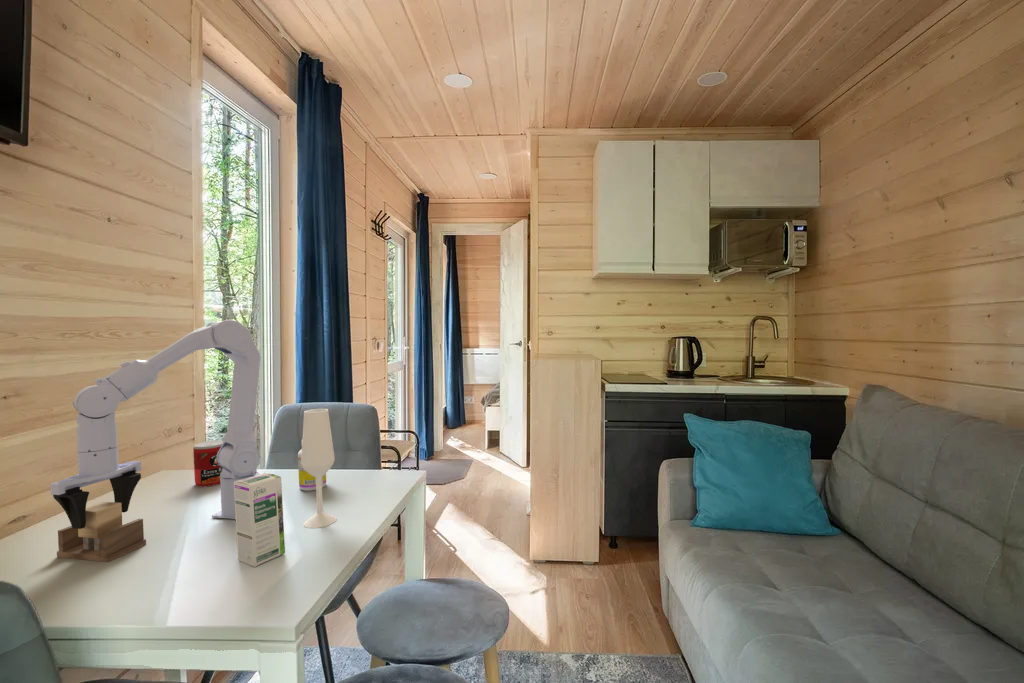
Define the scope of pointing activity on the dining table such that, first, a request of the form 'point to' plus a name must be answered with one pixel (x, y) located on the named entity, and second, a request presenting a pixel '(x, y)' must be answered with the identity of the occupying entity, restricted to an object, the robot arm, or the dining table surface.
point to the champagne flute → (317, 458)
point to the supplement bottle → (307, 477)
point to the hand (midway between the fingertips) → (101, 519)
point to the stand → (101, 542)
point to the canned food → (207, 463)
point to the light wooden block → (101, 519)
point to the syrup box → (259, 518)
